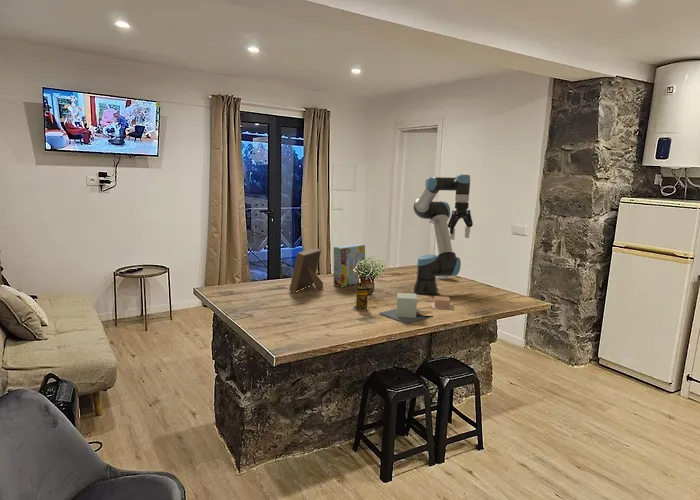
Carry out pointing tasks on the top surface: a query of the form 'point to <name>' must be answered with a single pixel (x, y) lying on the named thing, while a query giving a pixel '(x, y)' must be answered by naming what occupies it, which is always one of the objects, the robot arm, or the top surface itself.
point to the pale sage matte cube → (406, 305)
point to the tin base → (441, 302)
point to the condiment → (361, 299)
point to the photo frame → (306, 270)
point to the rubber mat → (406, 320)
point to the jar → (442, 277)
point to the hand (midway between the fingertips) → (459, 238)
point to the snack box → (347, 263)
